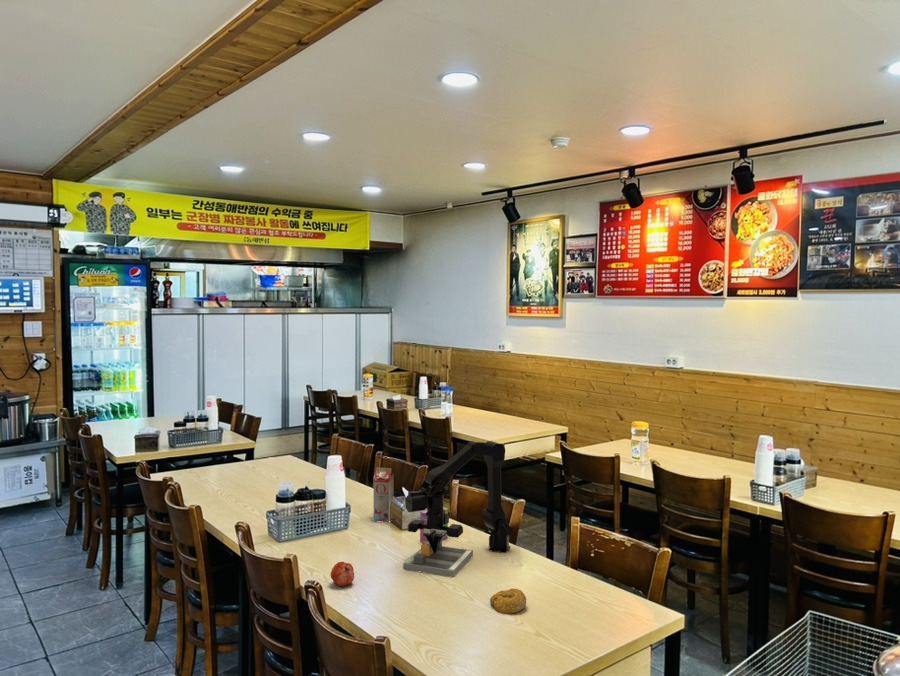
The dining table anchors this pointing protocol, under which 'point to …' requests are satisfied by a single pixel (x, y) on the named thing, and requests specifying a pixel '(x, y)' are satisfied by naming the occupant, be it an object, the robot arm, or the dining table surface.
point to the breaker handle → (426, 549)
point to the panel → (439, 561)
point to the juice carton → (383, 493)
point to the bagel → (509, 601)
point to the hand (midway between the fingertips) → (435, 552)
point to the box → (424, 518)
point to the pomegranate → (342, 573)
